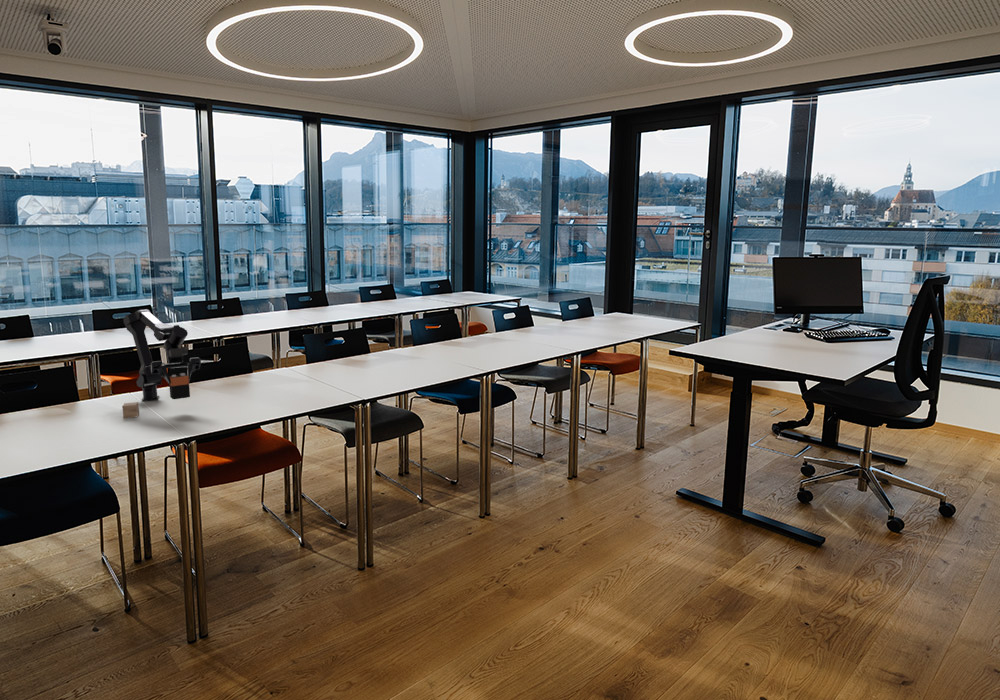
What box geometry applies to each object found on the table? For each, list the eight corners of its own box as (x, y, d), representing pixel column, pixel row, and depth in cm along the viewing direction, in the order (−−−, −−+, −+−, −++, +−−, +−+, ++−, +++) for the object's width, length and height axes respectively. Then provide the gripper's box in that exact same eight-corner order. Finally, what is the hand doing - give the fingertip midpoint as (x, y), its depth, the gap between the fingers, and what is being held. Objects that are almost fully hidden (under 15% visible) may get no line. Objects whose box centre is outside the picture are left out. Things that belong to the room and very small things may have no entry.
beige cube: (125, 414, 280) (124, 403, 279) (139, 413, 282) (138, 402, 281) (123, 417, 276) (122, 406, 275) (137, 416, 277) (136, 405, 276)
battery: (190, 397, 283) (188, 373, 281) (173, 399, 279) (171, 376, 277) (187, 395, 286) (185, 372, 285) (170, 397, 282) (168, 374, 280)
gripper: (149, 342, 276) (155, 374, 269) (198, 338, 287) (205, 368, 280) (148, 358, 284) (154, 389, 277) (196, 353, 294) (203, 383, 288)
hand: (179, 382), depth 280 cm, fingers closed on battery, 7 cm apart
